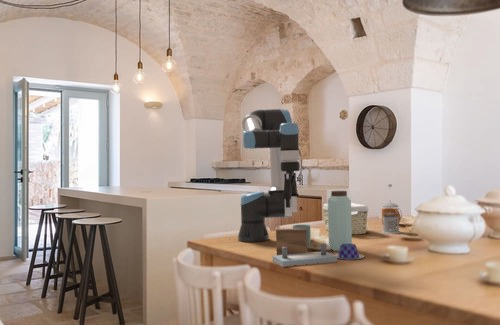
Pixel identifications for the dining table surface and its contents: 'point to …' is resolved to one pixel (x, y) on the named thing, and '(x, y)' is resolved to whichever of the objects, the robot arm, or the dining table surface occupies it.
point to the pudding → (348, 252)
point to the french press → (391, 219)
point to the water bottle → (339, 220)
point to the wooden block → (291, 241)
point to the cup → (307, 232)
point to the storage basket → (353, 218)
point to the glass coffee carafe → (387, 210)
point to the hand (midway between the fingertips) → (291, 214)
